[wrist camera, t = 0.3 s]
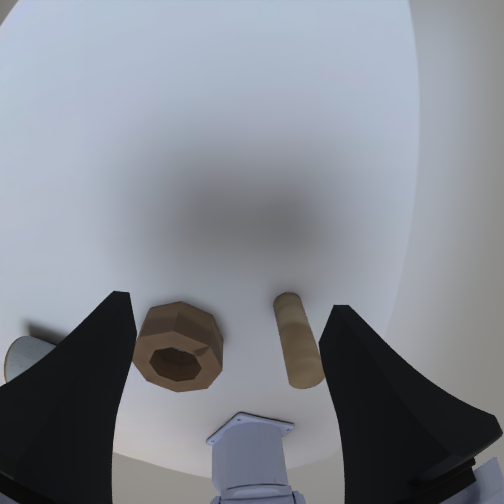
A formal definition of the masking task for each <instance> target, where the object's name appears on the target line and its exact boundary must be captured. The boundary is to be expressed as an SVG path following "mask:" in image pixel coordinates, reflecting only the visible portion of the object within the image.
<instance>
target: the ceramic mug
mask: <svg viewBox="0 0 504 504" xmlns="http://www.w3.org/2000/svg"><path fill="white" fill-rule="evenodd" d="M55 347H56V345H53V344H50V343H48V342H45V341H43V340H40V339H38V338H34V337H30V336H22V337H20V338H18V339H16V340H15V341H14V342H13V343H12V344H11V346H10V347H9V349H8V351H7V354H6V357H5V362H4V377H5V380H6V383H7V382H9V381H11V380H12V379H14V378H15V377H17V376H18V375H19V374H21V373H22V372H24V371H25V370H27V369H28V368H30V367H31V366H33V365H34V364H35V363H37V362H38V361H39V360H40V359H42V358H43V357H44V356H45V355H47V354H48V353H49V352H50V351H51V350H53V349H54V348H55Z"/></svg>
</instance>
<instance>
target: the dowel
mask: <svg viewBox="0 0 504 504" xmlns="http://www.w3.org/2000/svg"><path fill="white" fill-rule="evenodd" d="M273 307H274V312H275V317H276V321H277V326H278V331H279V336H280V341H281V346H282V351H283V355H284V360H285V365H286V370H287V375H288V380H289V384H290V385H291V386H292V387H294V388H297V389H307V388H311V387H314V386H316V385H318V384H319V383H320V382H322V381H323V379H324V378H325V374H324V371H323V367H322V362H321V357H320V354H319V351H318V348H317V345H316V342H315V340H314V337H313V334H312V331H311V328H310V325H309V322H308V319H307V316H306V313H305V311H304V308H303V305H302V302H301V299H300V297H299V296H298V295H296V294H294V293H284V294H282V295H280V296H278V297H277V298H276V299H275V301H274V305H273Z"/></svg>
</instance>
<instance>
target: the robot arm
mask: <svg viewBox="0 0 504 504" xmlns="http://www.w3.org/2000/svg"><path fill="white" fill-rule="evenodd" d="M136 338H137V330H136V325H135V320H134V315H133V310H132V304H131V299H130V293H129V292H120V291H113V292H112V293H111V294H110V295H109V296H108V297H107V298H106V299H105V300H104V301H102V302H101V303H100V304H99V305H98V307H97V308H96V309H95V310H94V311H93V312H92V313H91V314H90V315H89V316H88V317H87V318H86V319H85V320H83V321H82V322H81V323H80V324H79V325H78V326H77V327H76V328H75V329H74V330H73V331H72V332H71V333H70V334H69V335H68V336H67V337H66V338H65V339H64V340H63V341H62V342H60V343H59V344H58V345H57V346H56V347H55V348H54V349H53V350H51V351H50V352H49V353H48V354H47V355H45V356H44V357H43V358H42V359H40V360H39V361H38V362H37V363H35V364H34V365H33V366H31V367H30V368H28V369H27V370H25V371H24V372H22V373H21V374H19V375H18V376H17V377H15V378H14V379H12V380H11V381H9V382H7V383H6V384H4V385H2V386H1V387H0V504H113V503H112V451H113V439H114V431H115V423H116V416H117V412H118V407H119V404H120V400H121V396H122V393H123V389H124V386H125V382H126V379H127V376H128V372H129V369H130V366H131V362H132V359H133V354H134V349H135V343H136ZM319 349H320V356H321V362H322V367H323V371H324V374H325V378H326V381H327V384H328V388H329V391H330V394H331V398H332V401H333V405H334V408H335V411H336V415H337V419H338V424H339V429H340V436H341V443H342V451H343V461H344V477H345V504H504V477H503V474H502V472H501V469H500V466H499V463H498V461H497V458H496V457H493V458H492V459H491V460H489V461H488V462H486V463H484V464H483V465H481V466H480V467H479V468H477V469H476V470H474V471H473V470H472V466H473V465H475V463H476V462H475V459H474V457H475V456H476V455H477V454H479V453H480V452H482V451H483V450H484V449H486V448H487V447H488V446H490V445H491V444H493V443H494V442H495V441H496V440H498V439H499V438H500V437H501V436H502V434H503V432H502V429H501V428H500V425H499V423H498V421H497V419H496V417H495V416H494V415H492V414H489V413H487V412H485V411H482V410H480V409H477V408H475V407H473V406H471V405H469V404H467V403H465V402H463V401H461V400H459V399H457V398H456V397H454V396H452V395H451V394H449V393H447V392H446V391H444V390H443V389H441V388H440V387H438V386H437V385H435V384H434V383H432V382H431V381H430V380H428V379H427V378H426V377H424V376H423V375H422V374H421V373H419V372H418V371H416V370H415V369H414V368H413V367H412V366H411V365H409V364H408V363H407V362H406V361H405V360H404V359H403V358H402V357H401V356H399V355H398V354H397V353H396V352H395V351H394V350H393V349H392V348H391V347H390V346H389V345H388V344H387V343H386V342H385V341H384V340H383V339H382V338H381V337H380V336H379V335H378V334H377V333H376V332H375V331H374V330H373V329H372V328H371V327H370V326H369V325H368V324H367V323H366V322H365V321H364V320H363V319H362V318H361V317H360V316H359V315H358V314H357V313H356V312H355V311H354V310H353V309H352V308H351V307H350V306H349V305H333V308H332V311H331V313H330V316H329V318H328V321H327V323H326V326H325V328H324V331H323V333H322V336H321V338H320V340H319ZM294 428H295V425H294V424H290V423H284V422H279V421H274V420H269V419H264V418H260V417H256V416H251V415H247V414H243V413H239V414H237V415H236V416H235V417H234V418H233V419H231V420H230V421H229V422H228V423H227V424H226V425H225V426H223V427H222V428H221V429H220V430H219V431H218V432H216V433H215V434H214V435H213V436H212V437H210V438H209V439H208V440H207V441H206V444H207V445H211V446H212V482H213V485H214V487H215V489H216V491H217V492H218V493H219V494H220V495H221V496H216V497H215V498H214V499H213V500H212V501H211V503H210V504H306V502H305V499H304V496H303V495H302V494H301V493H299V492H298V491H292V489H291V486H290V485H288V479H287V472H286V465H285V458H284V452H283V445H282V438H281V437H283V436H284V435H286V434H287V433H288V432H290V431H291V430H293V429H294Z"/></svg>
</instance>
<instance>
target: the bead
mask: <svg viewBox="0 0 504 504" xmlns="http://www.w3.org/2000/svg"><path fill="white" fill-rule="evenodd" d="M171 347H176V348H178V349H181V350H183V351H185V352H180V351H177V350H175V349H173V348H171ZM132 362H133V363H134V365H135V366H136V367H137V369H138V370H139V371H140V373H141V374H142V375H143V377H144V378H145V379H146V381H148V382H151V383H153V384H156V385H158V386H161V387H164V388H166V389H169V390H172V391H174V392H185V391H193V390H201V389H207V388H208V387H209V386H210V385H211V384H212V382H213V381H214V380H215V379H216V378H217V376H218V375H219V374H220V373H221V372H222V365H223V338H222V336H221V334H220V332H219V329H218V327H217V325H216V323H215V320H214V318H213V315H210V314H208V313H206V312H203V311H201V310H199V309H196V308H194V307H192V306H190V305H188V304H185V303H183V302H176V303H172V304H167V305H163V306H158V307H154V308H150V310H149V312H148V314H147V316H146V319H145V321H144V323H143V325H142V328H141V330H140V333H139V335H138V338H137V341H136V344H135V349H134V354H133V359H132Z"/></svg>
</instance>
